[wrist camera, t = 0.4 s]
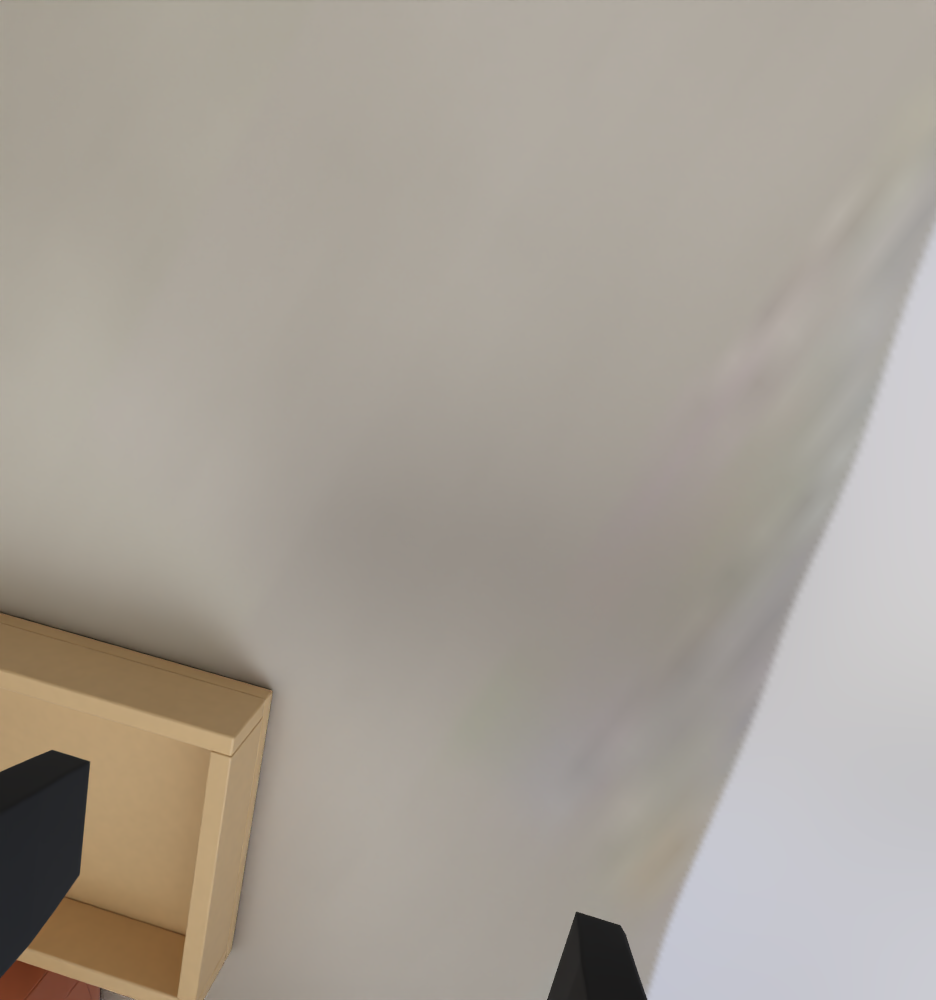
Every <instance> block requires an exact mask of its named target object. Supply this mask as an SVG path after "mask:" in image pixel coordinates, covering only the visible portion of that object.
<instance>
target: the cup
mask: <svg viewBox="0 0 936 1000" xmlns="http://www.w3.org/2000/svg"><path fill="white" fill-rule="evenodd" d="M0 1000H100V987H97V986H94V985H91V984H88V983H85V982H82V981H79V980H76V979H73V978H70V977H67V976H64V975H61V974H58V973H55V972H52V971H49V970H46V969H43V968H40V967H37V966H34V965H31V964H28V963H25V962H22V961H19V960H16V961H15V962H14V963H13V964H12V966H11V967H10V968H9V969H8V970H7V971H6V972H5V974H4V975H3V976H2V977H1V978H0Z"/></svg>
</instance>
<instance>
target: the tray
mask: <svg viewBox="0 0 936 1000" xmlns="http://www.w3.org/2000/svg"><path fill="white" fill-rule="evenodd" d="M271 699H272V690H268V689H265V688H261V687H258V686H254V685H251V684H248V683H244V682H241V681H237V680H234V679H230V678H227V677H223V676H220V675H216V674H213V673H209V672H206V671H202V670H199V669H195V668H192V667H188V666H185V665H181V664H178V663H174V662H171V661H167V660H164V659H160V658H157V657H153V656H150V655H146V654H143V653H139V652H136V651H132V650H129V649H125V648H122V647H118V646H115V645H111V644H108V643H104V642H101V641H97V640H94V639H90V638H87V637H83V636H80V635H76V634H73V633H69V632H66V631H62V630H59V629H55V628H52V627H48V626H45V625H41V624H38V623H34V622H31V621H27V620H24V619H20V618H17V617H13V616H10V615H6V614H3V613H0V772H1V771H3V770H5V769H8V768H10V767H12V766H14V765H17V764H19V763H21V762H24V761H26V760H28V759H31V758H33V757H35V756H38V755H40V754H43V753H45V752H48V751H50V750H55V751H58V752H62V753H65V754H68V755H71V756H74V757H78V758H81V759H84V760H87V761H90V771H89V782H88V792H87V803H86V814H85V824H84V835H83V846H82V856H81V867H80V875H79V877H78V878H77V879H76V881H75V882H74V884H73V885H72V887H71V888H70V889H69V891H68V892H67V894H66V895H65V897H64V898H63V900H62V901H61V902H60V904H59V905H58V907H57V908H56V910H55V911H54V912H53V914H52V915H51V916H50V918H49V919H48V921H47V922H46V923H45V925H44V926H43V927H42V929H41V930H40V931H39V933H38V934H37V935H36V937H35V938H34V940H33V941H32V942H31V944H30V945H29V946H28V947H27V948H26V950H25V951H24V952H23V953H22V954H21V955H20V956H19V958H18V959H17V960H19V961H22V962H25V963H28V964H31V965H34V966H37V967H40V968H43V969H46V970H49V971H52V972H55V973H58V974H61V975H64V976H67V977H70V978H73V979H76V980H79V981H82V982H85V983H88V984H91V985H94V986H97V987H100V988H103V989H106V990H109V991H112V992H115V993H118V994H121V995H124V996H127V997H130V998H133V999H136V1000H204V998H205V996H206V995H207V993H208V991H209V989H210V987H211V986H212V984H213V982H214V980H215V978H216V976H217V975H218V973H219V971H220V969H221V967H222V966H223V964H224V961H225V960H226V959H227V957H228V955H229V953H230V951H231V950H232V943H233V937H234V931H235V925H236V918H237V912H238V906H239V899H240V893H241V887H242V881H243V874H244V868H245V862H246V856H247V849H248V843H249V837H250V831H251V824H252V818H253V812H254V806H255V799H256V793H257V787H258V780H259V774H260V768H261V762H262V755H263V749H264V743H265V737H266V730H267V724H268V718H269V712H270V705H271Z"/></svg>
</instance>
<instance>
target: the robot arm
mask: <svg viewBox="0 0 936 1000" xmlns="http://www.w3.org/2000/svg"><path fill="white" fill-rule="evenodd" d="M89 771H90V761H87V760H84V759H81V758H78V757H74V756H71V755H68V754H65V753H62V752H58V751H55V750H50V751H48V752H45V753H43V754H40V755H38V756H35V757H33V758H31V759H28V760H26V761H24V762H21V763H19V764H17V765H14V766H12V767H10V768H8V769H5V770H3V771H1V772H0V978H1V977H2V976H3V975H4V974H5V972H6V971H7V970H8V969H9V968H10V967H11V966H12V964H13V963H14V962H15V961H16V960H17V959H18V958H19V956H20V955H21V954H22V953H23V952H24V951H25V950H26V948H27V947H28V946H29V945H30V944H31V942H32V941H33V940H34V938H35V937H36V935H37V934H38V933H39V931H40V930H41V929H42V927H43V926H44V925H45V923H46V922H47V921H48V919H49V918H50V916H51V915H52V914H53V912H54V911H55V910H56V908H57V907H58V905H59V904H60V902H61V901H62V900H63V898H64V897H65V895H66V894H67V892H68V891H69V889H70V888H71V887H72V885H73V884H74V882H75V881H76V879H77V878H78V877H79V875H80V867H81V856H82V846H83V835H84V824H85V814H86V803H87V792H88V782H89ZM547 1000H647V998H646V995H645V992H644V989H643V986H642V983H641V980H640V977H639V974H638V971H637V968H636V965H635V962H634V959H633V956H632V953H631V950H630V947H629V944H628V940H627V937H626V934H625V933H624V931H623V929H622V927H621V926H620V925H618V924H614V923H611V922H608V921H605V920H601V919H598V918H595V917H592V916H588V915H585V914H582V913H579V912H576V914H575V917H574V920H573V923H572V926H571V929H570V932H569V935H568V938H567V941H566V944H565V947H564V950H563V953H562V956H561V959H560V962H559V966H558V969H557V972H556V975H555V978H554V981H553V984H552V987H551V990H550V993H549V996H548V999H547Z"/></svg>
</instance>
